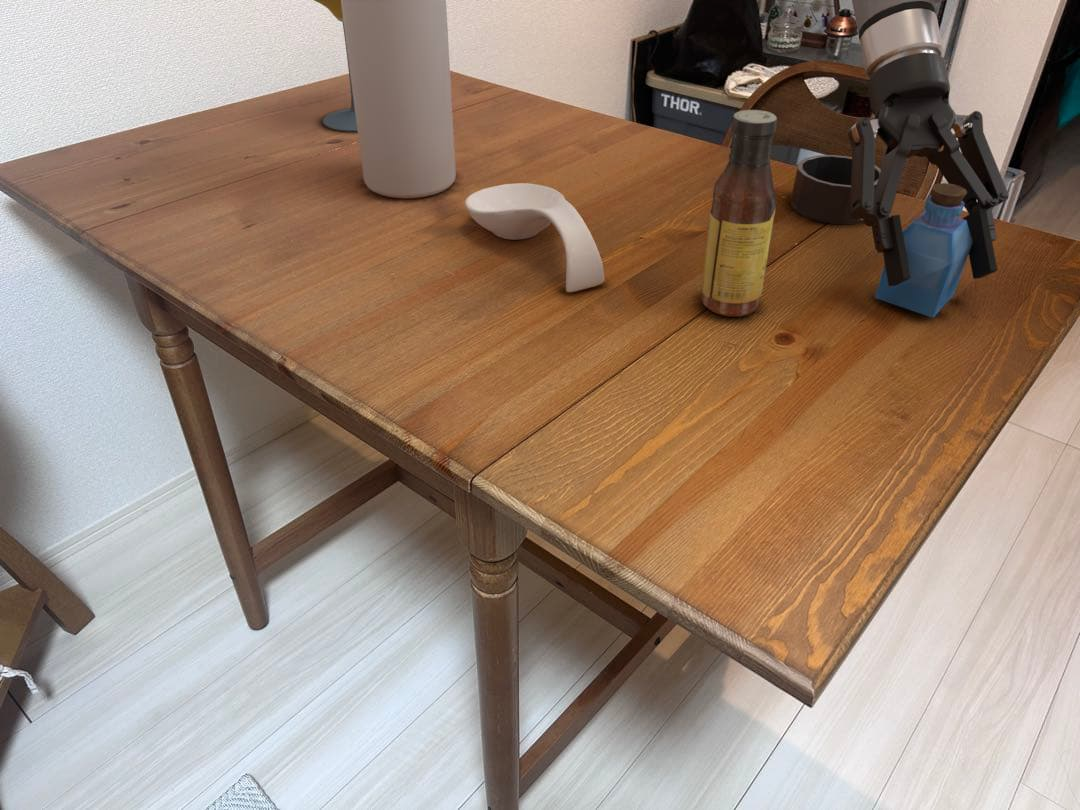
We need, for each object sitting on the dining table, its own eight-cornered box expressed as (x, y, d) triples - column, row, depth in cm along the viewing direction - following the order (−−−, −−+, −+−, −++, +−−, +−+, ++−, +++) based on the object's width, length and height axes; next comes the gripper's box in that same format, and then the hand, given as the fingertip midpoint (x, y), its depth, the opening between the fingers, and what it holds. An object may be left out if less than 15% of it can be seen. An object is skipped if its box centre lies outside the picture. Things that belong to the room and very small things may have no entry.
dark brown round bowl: (872, 196, 110) (882, 159, 106) (876, 229, 101) (887, 191, 98) (791, 187, 112) (798, 151, 109) (789, 218, 104) (797, 181, 101)
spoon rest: (451, 219, 103) (447, 164, 98) (533, 201, 107) (533, 148, 103) (541, 304, 86) (542, 242, 82) (634, 279, 91) (639, 219, 86)
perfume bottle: (933, 317, 83) (971, 208, 76) (874, 297, 87) (906, 190, 79) (953, 295, 87) (992, 188, 80) (897, 276, 90) (929, 172, 83)
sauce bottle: (770, 309, 86) (811, 120, 74) (728, 326, 83) (762, 133, 71) (726, 283, 90) (757, 101, 78) (684, 299, 87) (710, 112, 75)
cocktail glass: (377, 96, 142) (358, -69, 126) (434, 123, 131) (422, -53, 115) (280, 117, 132) (248, -58, 117) (333, 148, 122) (306, -40, 106)
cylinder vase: (418, 158, 119) (401, -34, 104) (474, 182, 112) (466, -19, 97) (346, 181, 112) (317, -21, 96) (402, 209, 105) (380, -4, 90)
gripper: (975, 82, 90) (1013, 280, 87) (791, 92, 87) (825, 297, 84) (1023, 44, 82) (1066, 258, 80) (824, 53, 80) (862, 276, 77)
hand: (942, 278), depth 82 cm, fingers closed on perfume bottle, 9 cm apart
